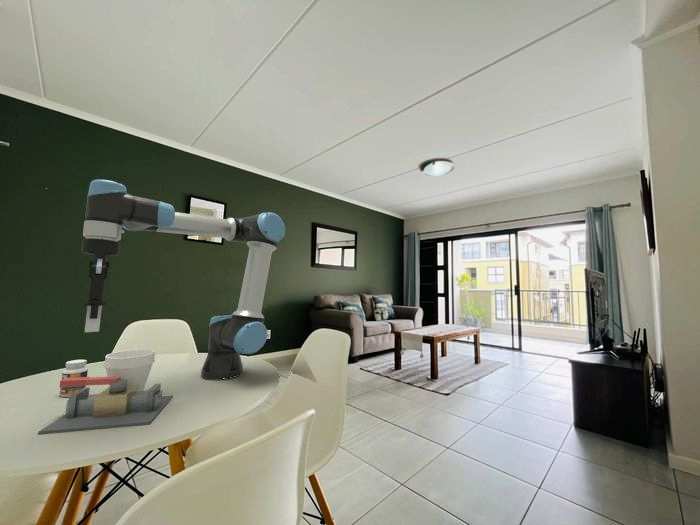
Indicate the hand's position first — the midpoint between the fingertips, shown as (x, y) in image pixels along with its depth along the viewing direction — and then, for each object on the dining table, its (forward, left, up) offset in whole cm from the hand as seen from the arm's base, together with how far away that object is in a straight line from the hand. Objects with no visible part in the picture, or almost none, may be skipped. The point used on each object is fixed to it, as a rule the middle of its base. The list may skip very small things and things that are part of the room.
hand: (91, 331), depth 71 cm
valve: (-5, -5, -22) cm, 23 cm away
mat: (-5, -5, -22) cm, 23 cm away
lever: (0, -5, -16) cm, 17 cm away
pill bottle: (+14, -23, -23) cm, 35 cm away
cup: (-3, -15, -23) cm, 28 cm away
